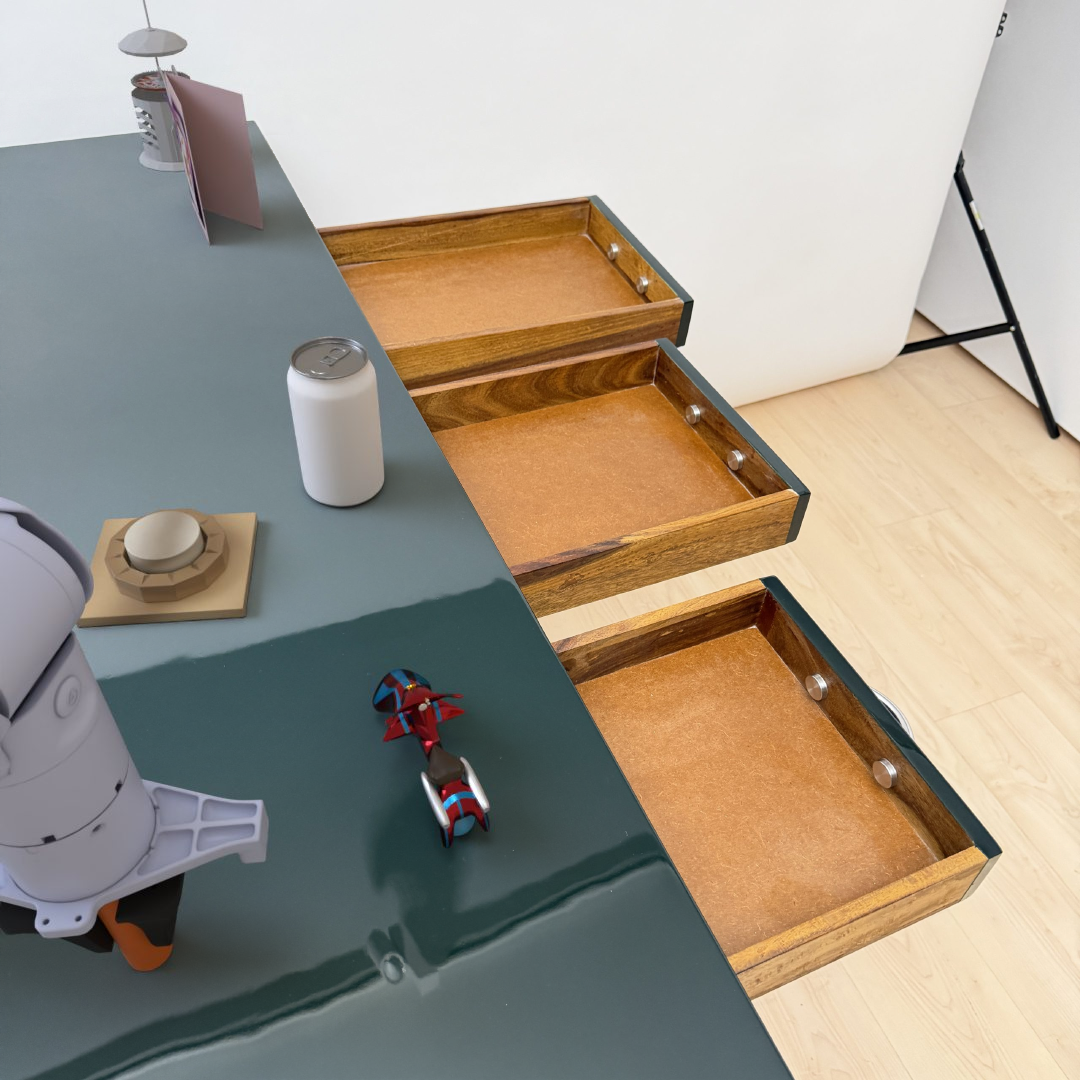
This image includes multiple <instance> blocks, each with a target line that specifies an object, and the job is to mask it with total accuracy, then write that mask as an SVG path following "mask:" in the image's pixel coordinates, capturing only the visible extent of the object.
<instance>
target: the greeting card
mask: <svg viewBox="0 0 1080 1080" xmlns="http://www.w3.org/2000/svg"><path fill="white" fill-rule="evenodd" d="M164 73H165V78H166V82H167V87H168V92H169V97H170V101H171V104H170V102H169V101H168V99H167V98H166V96H165V95H164V93H163V92H162V93H163V95H164V96H165V98H166V100H167V102H168V104H169V106H170V108H171V111H172V113H173V117H174V120H175V125H176V130H177V134H178V139H179V144H180V149H181V153H182V158H183V163H184V167H185V171H184V172H185V176H186V182H187V186H188V192H189V194H190V199H191V204H192V207H193V210H194V212H195V214H196V218H197V219H198V221H199V224H200V226H201V228H202V231H203V233H204V236H205V238H206V240H207V243H208V245H209V246H211V243H210V239H209V233H208V229H207V224H206V223H207V222H206V219H205V213H204V210H205V211H208V212H211V213H213V214H216V215H219V216H222V217H225V218H228V219H231V220H233V221H236V222H239V223H242V224H245V225H248V226H250V227H254V228H256V229H260V230H262V231H264V229H265V227H264V222H263V216H262V209H261V203H260V198H259V191H258V184H257V178H256V171H255V164H254V159H253V152H252V147H251V141H250V135H249V128H248V121H247V116H246V109H245V104H244V103H245V101H244V97H243V94H242V93H239V92H236V91H232V90H229V89H225V88H222V87H219V86H215V85H212V84H209V83H206V82H205V83H204V82H201V81H197V80H194V79H191V78H190V79H187V78H184V77H180V76H177V75H173V74H170V73H167V72H164Z"/></svg>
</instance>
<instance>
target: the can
mask: <svg viewBox="0 0 1080 1080" xmlns="http://www.w3.org/2000/svg"><path fill="white" fill-rule="evenodd" d="M289 364H290V366H289V368H288V371H287V375H286V384H287V391H288V398H289V403H290V411H291V417H292V423H293V428H294V434H295V440H296V441H295V442H296V447H297V452H298V458H299V465H300V471H301V476H302V482H303V486H304V489H305V492H306V493H307V494H308V496H310V498H312V499H313V500H315V501H317V502H318V503H320V504H323V505H326V506H330V507H334V508H335V507H336V508H349V507H354V506H358V505H362V504H364V503H366V502H368V501H369V500H371V499H372V498H374V496H376V495H377V494H378V493H379V492H380V490H381V489H382V488H383V485H384V484H385V483H384V482H385V467H384V452H383V440H382V427H381V416H380V415H381V414H380V406H379V405H380V403H379V392H378V391H379V390H378V383H377V382H378V381H377V374H376V370H375V367H374V365H373V364H372V361H371V360H370V359H369V351H368V350H367V347H365V346H364V345H363V344H362V343H360V342H359V341H358V340H354V339H352V338H348V337H344V336H343V337H342V336H320V337H316V338H312V339H311V338H310V339H309V340H307V341H303V342H302V343H300V344H299V345H297V346H296V347H295V348H294V349H293V350H292V351H291V352H290V354H289Z"/></svg>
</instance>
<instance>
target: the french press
mask: <svg viewBox="0 0 1080 1080" xmlns="http://www.w3.org/2000/svg"><path fill="white" fill-rule="evenodd" d="M142 4H143V8H144V13H145V18H146V22H147V27H146V28H140V29H137V30H135V31H132V32H130V33H128V34H127V35H126V36H125V37H123V38H122V39H121V40H120V41H119V42H118V43H117V48H118V49H119V51H120V52H122V53H123V54H125V55H128V56H132V57H136V58H137V57H138V58H139V57H140V58H154V59H155V63H156V68H157V69H155V70H148V71H147V70H146V71H142V72H140V73H137V74H135V75H134V76H132V77H131V79H130V83H131V85H132V86H133V87H135V88H133V89H132V90H131V91H130V92H131V93H130V95H131V101H132V104H133V107H134V109H136V108H138V109H141V110H142V111H136V110H135V111H134V113H135V116H136V119H138V120H140V119H141V120H142V121H143V122H140V121H137V124H138V128H139V129H141V130H142V129H143V130H145V132H142V131H140V132H139V134H140V137H141V139H142V140H147V141H148V142H142V146H143V150H142V152H141V154H140V155H139V157H138V161H139V164H140V165H142V166H144V167H145V168H146V169H151V170H155V171H158V172H160V171H161V172H172V173H173V172H185V167H184V163H183V158H182V153H181V149H180V144H179V139H178V134H177V130H176V125H175V120H174V117H173V113H172V111H171V108H170V106H169V104H168V102H167V100H166V98H167V99H168V101H169V102H170V104H171V101H170V97H169V92H168V87H167V82H166V78H165V73H164V72H167V73H170V74H173V75H177V76H180V77H184V78H187V79H191V77H190V75H188V74H187V73H185V72H183V71H180V70H179V71H178V70H177V69H176V67H175V65H174V64H171V65H170V67H171V70H168V69H162V68H161V67H160V65H159V60H158V58H163V57H169V56H174V55H176V54H179V53H181V52H183V51H184V50H185V49H186V48H187V46H188V41H187V40H186V39H185V38H183V37H182V36H180V35H178V34H177V33H176V32H172V31H170V30H167V29H161V28H157V27H151V23H150V17H149V14H148V9H147V5H146V1H145V0H142ZM162 92H163V93H164V95H165V96H166V98H165V96H164V95H163V93H162ZM146 115H147V116H146Z"/></svg>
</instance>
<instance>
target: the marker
mask: <svg viewBox="0 0 1080 1080" xmlns="http://www.w3.org/2000/svg"><path fill="white" fill-rule="evenodd" d="M118 901H119V899H117V900H115V901H112V902H110V903H108V904H105V905H103V906H102V907H101V908H100V909H99V911H98V913H97V914H98V915H99V917H100V919H101V920H102V922H103V923H104V925H105V926H106V928H107V930H108V931H109V933H110V934H111V936H112V937H113V939H114V943H115V944H116V946H117V947H118V949H119V950H120V952H121V953H122V954H123V957H124V958H125V960H126V962H127V963H128V964H129V965H130V967H131V968H133V969H134V970H136V971H138V972H149V971H153V970H155V969H157V968H159V967H160V966H161V965H163V964H164V963H165V962H166V961H167V960H168V959H169V957H170V955H171V953H172V949H173V948H174V947H173V946H174V942H173V943H172V944H171V945H170V946H161V947H156V946H154V945H152V944H151V943H150V941H149V940H148V938H147V937H146V935H145V933H144V932H143V931H142V930H141V929H140V928H139V927H138V926H136V925H134V924H132V923H119V924H117V922H116V921H115V916H116V911H117V906H118Z"/></svg>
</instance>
